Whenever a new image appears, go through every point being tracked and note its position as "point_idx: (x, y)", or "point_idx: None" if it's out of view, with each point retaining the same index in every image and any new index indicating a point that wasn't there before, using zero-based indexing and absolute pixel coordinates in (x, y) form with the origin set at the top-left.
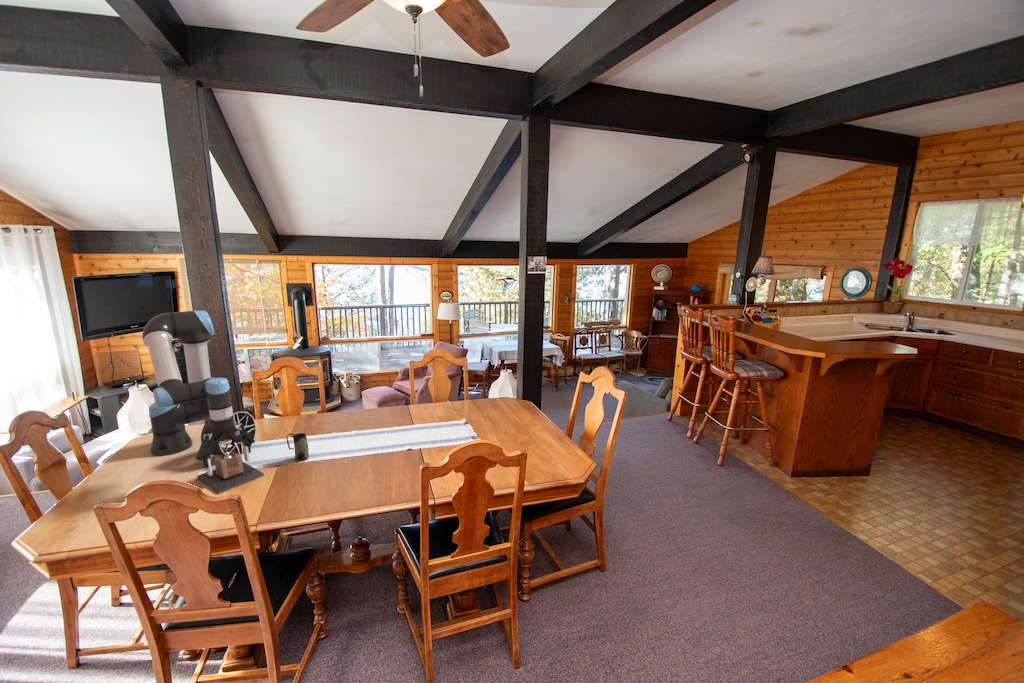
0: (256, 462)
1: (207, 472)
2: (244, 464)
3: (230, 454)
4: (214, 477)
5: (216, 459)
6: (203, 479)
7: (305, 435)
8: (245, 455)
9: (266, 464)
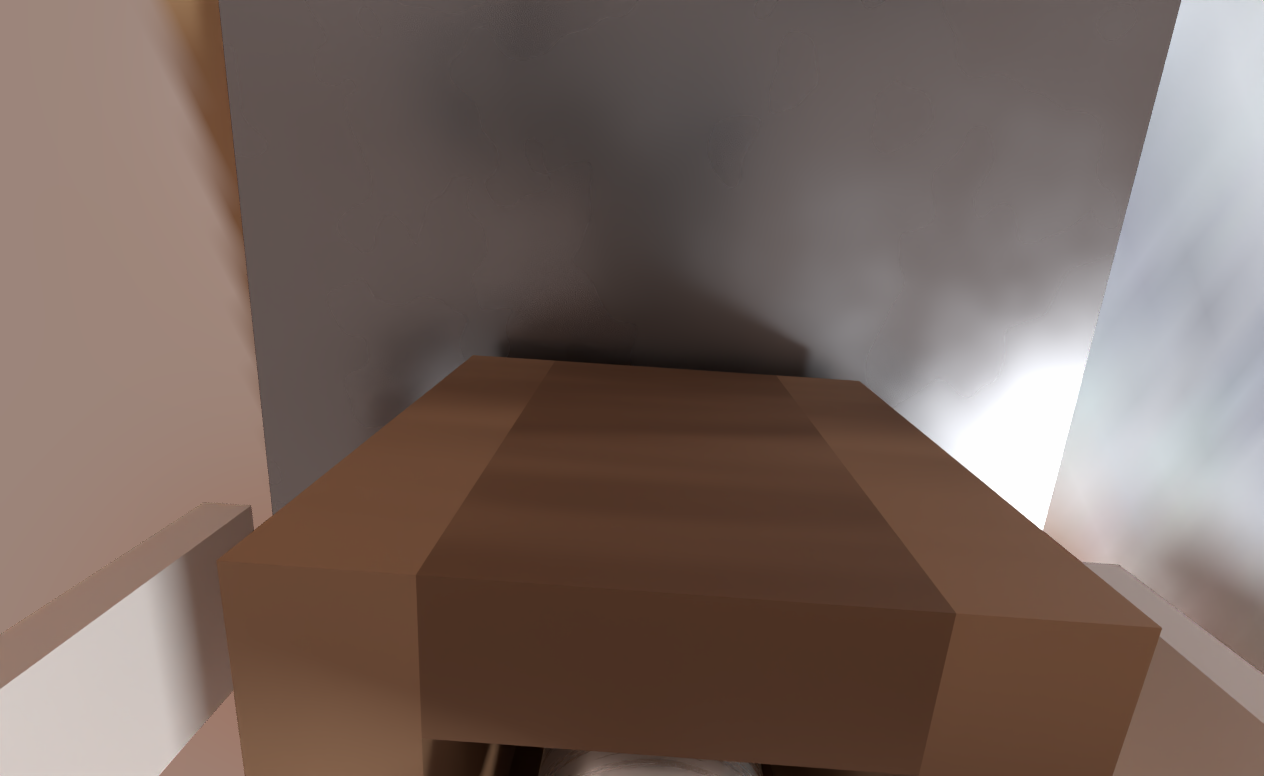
0: (1254, 325)
1: (171, 536)
2: (1049, 339)
3: (873, 730)
4: (426, 382)
5: (257, 771)
6: (260, 278)
7: None
8: (1180, 760)
9: (1241, 568)
